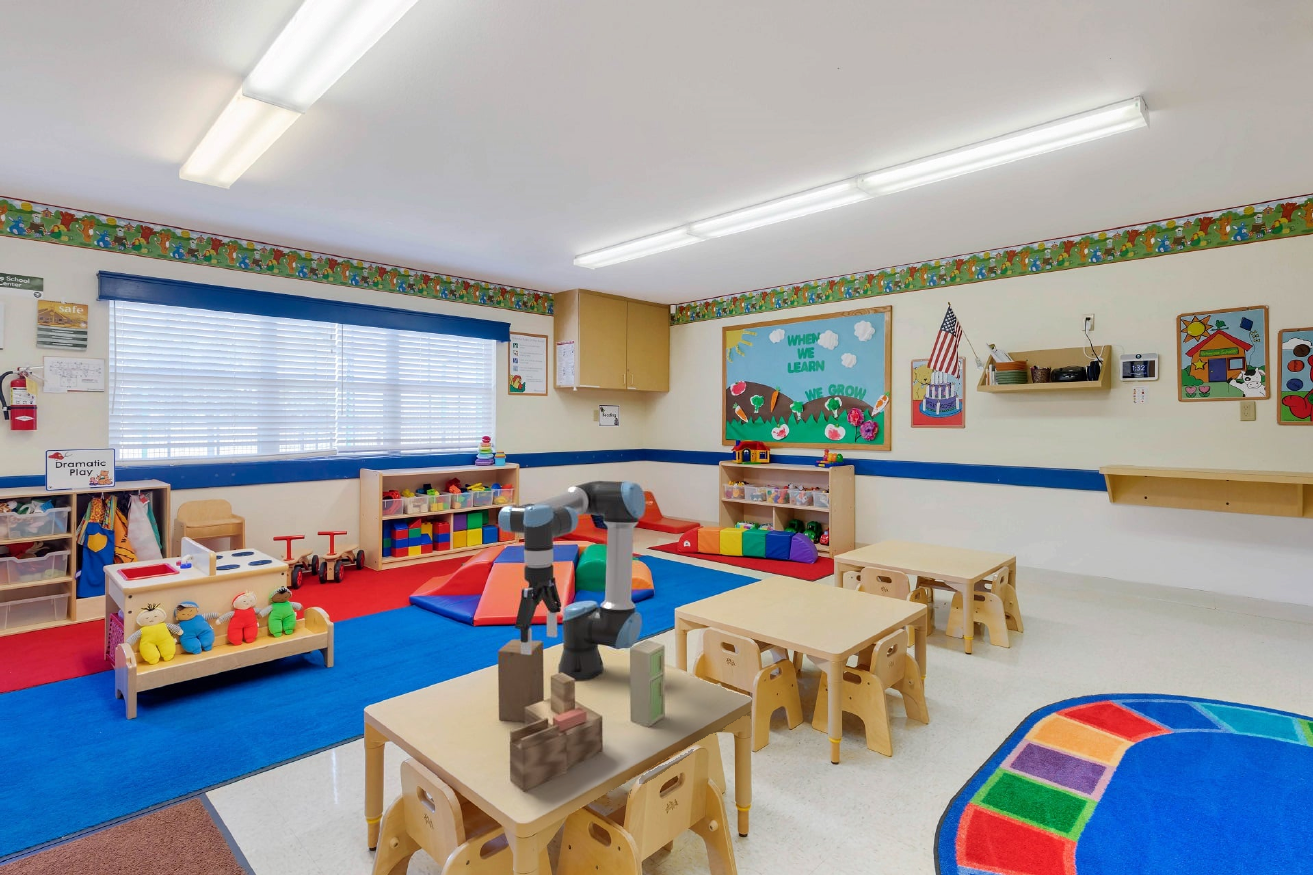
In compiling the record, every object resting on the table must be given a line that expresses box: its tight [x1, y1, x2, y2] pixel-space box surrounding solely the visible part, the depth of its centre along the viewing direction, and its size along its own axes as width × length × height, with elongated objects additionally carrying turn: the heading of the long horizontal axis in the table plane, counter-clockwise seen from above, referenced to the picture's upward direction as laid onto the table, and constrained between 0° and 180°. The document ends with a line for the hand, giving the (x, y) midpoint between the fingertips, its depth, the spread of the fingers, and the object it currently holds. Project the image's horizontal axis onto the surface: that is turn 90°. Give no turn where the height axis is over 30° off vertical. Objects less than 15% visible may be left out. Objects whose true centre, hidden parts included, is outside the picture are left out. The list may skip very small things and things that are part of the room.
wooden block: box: [497, 638, 545, 723], centre depth 183 cm, size 10×10×20 cm
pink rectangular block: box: [553, 707, 587, 732], centre depth 157 cm, size 8×3×2 cm, turn 132°
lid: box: [525, 673, 603, 735], centre depth 164 cm, size 12×18×10 cm, turn 42°
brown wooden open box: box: [509, 712, 604, 792], centre depth 160 cm, size 24×20×12 cm
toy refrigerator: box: [629, 640, 666, 728], centre depth 179 cm, size 8×7×21 cm
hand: (539, 644), depth 166 cm, fingers open, 13 cm apart
